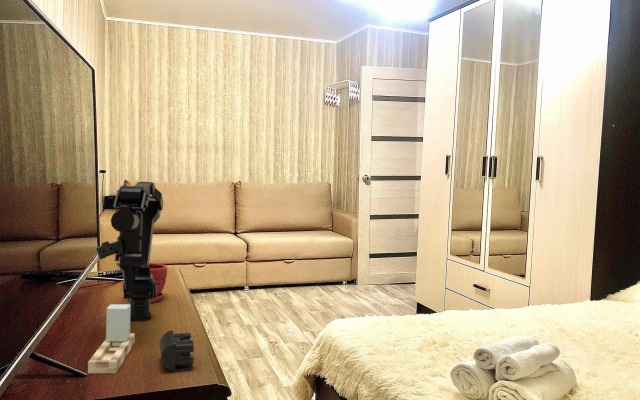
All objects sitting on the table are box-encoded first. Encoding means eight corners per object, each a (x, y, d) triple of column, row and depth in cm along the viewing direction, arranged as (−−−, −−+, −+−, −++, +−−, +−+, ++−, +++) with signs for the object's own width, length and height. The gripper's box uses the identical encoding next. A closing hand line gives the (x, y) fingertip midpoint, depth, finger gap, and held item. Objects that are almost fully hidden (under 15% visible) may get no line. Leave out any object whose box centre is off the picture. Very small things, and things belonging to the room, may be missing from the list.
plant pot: (159, 305, 174) (160, 269, 173) (119, 303, 174) (120, 267, 174) (171, 296, 187) (172, 262, 186) (134, 294, 187) (135, 260, 187)
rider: (110, 341, 134) (110, 304, 133) (129, 341, 135) (130, 304, 134) (105, 346, 130) (106, 308, 129) (126, 346, 131) (127, 308, 130)
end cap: (159, 358, 129) (159, 330, 128) (189, 355, 131) (189, 329, 130) (160, 374, 119) (161, 344, 119) (193, 371, 121) (193, 342, 121)
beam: (109, 343, 137) (110, 333, 137) (134, 342, 138) (135, 333, 138) (87, 373, 117) (87, 361, 117) (116, 373, 118) (116, 361, 118)
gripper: (97, 231, 149) (94, 287, 148) (100, 231, 132) (96, 294, 131) (138, 232, 153) (136, 286, 152) (146, 232, 137) (144, 293, 136)
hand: (127, 290), depth 143 cm, fingers closed
